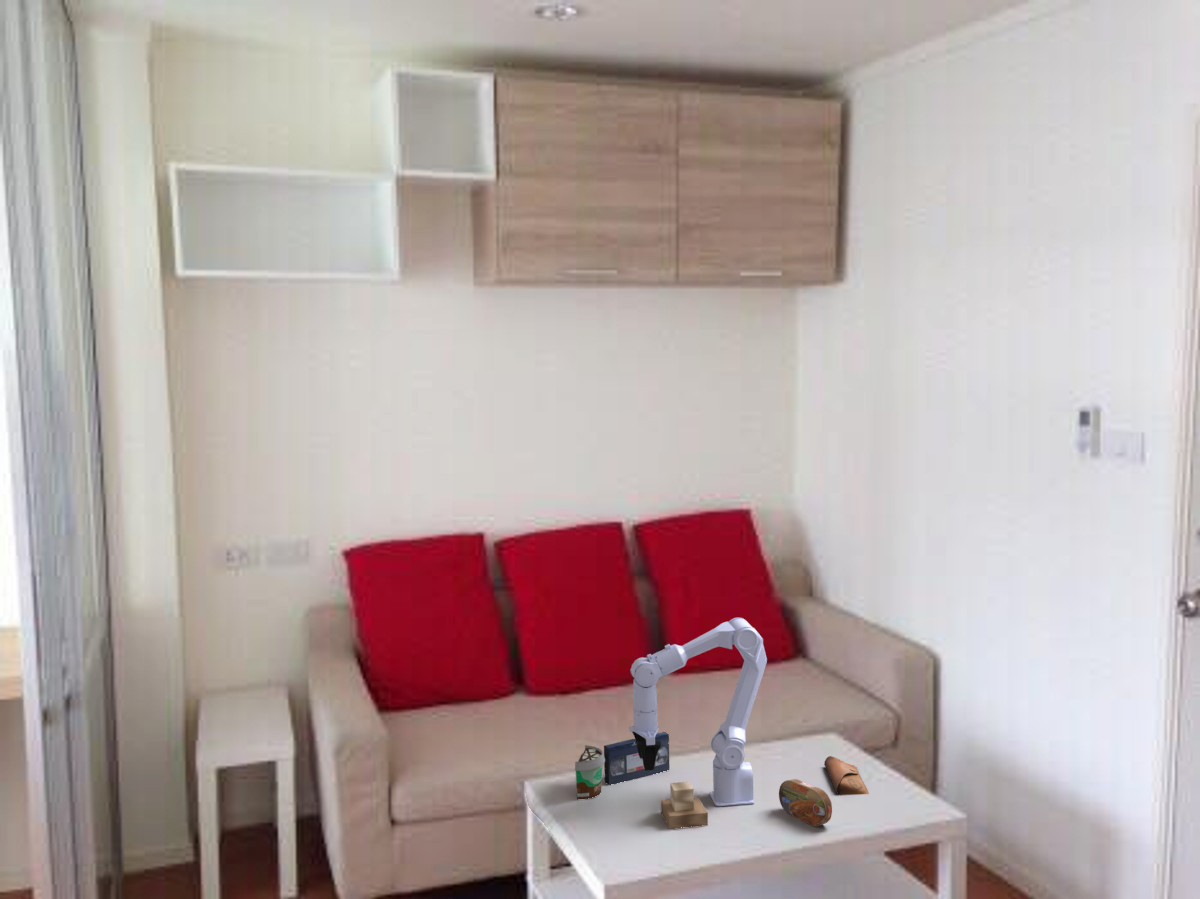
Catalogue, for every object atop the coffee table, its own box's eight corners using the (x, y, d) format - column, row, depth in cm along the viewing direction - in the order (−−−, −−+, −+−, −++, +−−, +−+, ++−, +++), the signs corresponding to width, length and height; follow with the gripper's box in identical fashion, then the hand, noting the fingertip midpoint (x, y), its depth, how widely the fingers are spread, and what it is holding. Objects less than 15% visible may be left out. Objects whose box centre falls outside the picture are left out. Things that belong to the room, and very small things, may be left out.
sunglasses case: (871, 794, 271) (857, 771, 270) (846, 809, 271) (832, 786, 271) (856, 766, 289) (843, 745, 288) (833, 780, 289) (819, 759, 289)
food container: (600, 803, 270) (599, 763, 269) (575, 802, 271) (574, 762, 270) (610, 783, 282) (609, 745, 281) (586, 782, 283) (585, 744, 282)
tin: (777, 810, 263) (777, 775, 263) (787, 806, 265) (787, 772, 264) (824, 832, 251) (824, 796, 250) (834, 828, 253) (834, 792, 252)
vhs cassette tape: (608, 786, 280) (607, 748, 279) (603, 782, 283) (602, 744, 282) (670, 771, 289) (670, 734, 288) (665, 768, 291) (664, 731, 290)
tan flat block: (698, 811, 265) (698, 797, 265) (707, 827, 256) (707, 812, 256) (661, 814, 263) (661, 800, 263) (669, 831, 255) (669, 816, 254)
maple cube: (689, 801, 262) (688, 781, 261) (693, 809, 257) (693, 788, 257) (670, 803, 261) (670, 783, 261) (675, 811, 257) (674, 790, 256)
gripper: (624, 700, 272) (625, 753, 273) (633, 720, 258) (634, 776, 259) (652, 698, 273) (653, 751, 274) (663, 718, 259) (664, 774, 260)
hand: (646, 763), depth 267 cm, fingers open, 7 cm apart
